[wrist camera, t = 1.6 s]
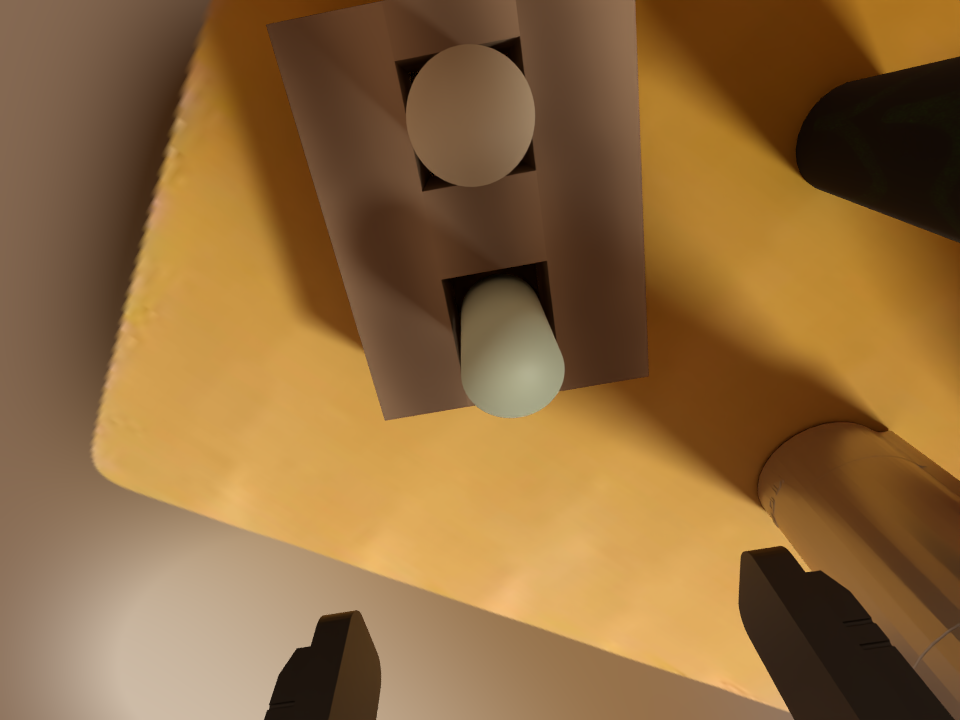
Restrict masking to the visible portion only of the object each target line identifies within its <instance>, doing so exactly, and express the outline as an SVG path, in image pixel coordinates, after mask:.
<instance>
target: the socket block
mask: <svg viewBox="0 0 960 720" xmlns="http://www.w3.org/2000/svg"><path fill="white" fill-rule="evenodd" d="M266 26H267V30H268V33H269V36H270V40H271V43H272V46H273V50H274V53H275V56H276V60H277V63H278V66H279V69H280V73H281V76H282V79H283V83H284V86H285V89H286V93H287V96H288V99H289V103H290V106H291V109H292V113H293V116H294V119H295V123H296V126H297V129H298V133H299V136H300V139H301V143H302V146H303V149H304V153H305V156H306V159H307V163H308V166H309V169H310V173H311V176H312V179H313V183H314V186H315V189H316V193H317V196H318V199H319V203H320V206H321V209H322V213H323V216H324V219H325V223H326V226H327V229H328V233H329V236H330V239H331V243H332V246H333V249H334V253H335V256H336V259H337V263H338V266H339V269H340V273H341V276H342V279H343V283H344V286H345V289H346V293H347V296H348V299H349V303H350V306H351V309H352V313H353V316H354V319H355V322H356V326H357V329H358V332H359V336H360V339H361V342H362V346H363V349H364V352H365V356H366V359H367V362H368V366H369V369H370V372H371V376H372V379H373V382H374V386H375V389H376V392H377V396H378V399H379V402H380V406H381V409H382V412H383V416H384V419H385V420H391V419H397V418H403V417H409V416H415V415H421V414H427V413H433V412H439V411H445V410H451V409H457V408H463V407H469V406H475V404H474V403H473V402H472V401H471V400H470V399H469V397H468V396H467V394H466V392H465V390H464V388H463V385H462V380H461V325H460V320H459V315H458V311H457V306H456V301H455V296H454V291H453V286H452V281H451V278H453V277H459V276H464V275H470V274H476V273H481V272H487V271H492V270H498V269H503V268H509V267H515V266H520V265H526V264H531V263H535V267H536V275H537V282H538V290H539V298H540V304H541V306H542V308H543V311H544V313H545V316H546V318H547V320H548V323H549V325H550V328H551V330H552V332H553V335H554V337H555V339H556V342H557V344H558V347H559V349H560V351H561V354H562V357H563V360H564V367H565V372H564V379H563V383H562V385H561V388H560V390H559V391H564V390H570V389H576V388H582V387H588V386H594V385H600V384H606V383H612V382H617V381H623V380H629V379H635V378H641V377H647V376H649V369H648V341H647V314H646V286H645V259H644V231H643V203H642V176H641V148H640V121H639V93H638V65H637V38H636V10H635V0H384V1H379V2H374V3H369V4H364V5H359V6H355V7H350V8H345V9H340V10H335V11H330V12H325V13H321V14H316V15H311V16H306V17H301V18H296V19H291V20H286V21H282V22H277V23H272V24H267V25H266ZM464 44H477V45H482V46H486V47H489V48H492V49H495V50H497V51H498V52H500V53H502V54H505V53H508V58H509V59H510V60H511V61H512V62H513V63H514V64H515V65H516V66H517V67H518V68H519V70H520V71H521V72H522V74H523V75H524V77H525V79H526V80H527V82H528V85H529V87H530V89H531V93H532V96H533V100H534V106H535V126H534V132H533V136H532V139H531V143H530V145H529V147H528V150H527V152H526V153H525V155H524V157H523V158H522V160H521V161H520V162H519V164H518V165H517V166H516V167H515V168H514V169H513V170H512V171H511V172H510V173H509V174H507V175H506V176H505V177H503V178H501V179H499V180H498V181H496V182H493V183H491V184H487V185H484V186H477V187H464V186H458V185H455V184H451V183H449V182H447V181H444V180H442V179H441V178H439V177H438V176H433V177H430V174H429V170H428V168H427V167H426V166H425V165H424V164H423V163H422V161H421V160H420V159H419V157H418V156H417V154H416V152H415V150H414V149H413V146H412V144H411V141H410V138H409V134H408V130H407V124H406V107H407V100H408V95H409V92H410V89H411V82H410V77H409V73H410V72H415V71H420V70H421V69H422V68H423V66H424V65H425V64H426V63H427V62H428V61H429V60H430V59H431V58H433V57H434V56H435V55H437V54H438V53H440V52H441V51H444V50H446V49H448V48H450V47H454V46H458V45H464Z"/></svg>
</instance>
